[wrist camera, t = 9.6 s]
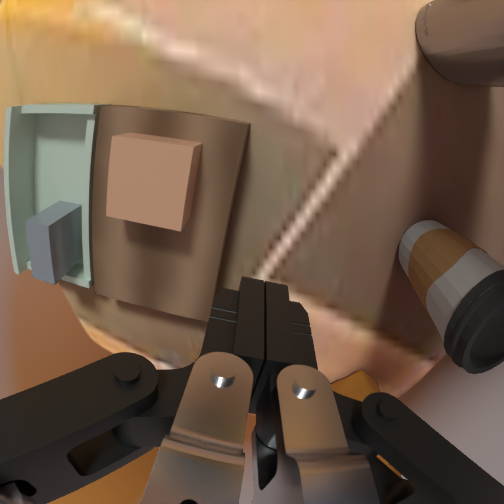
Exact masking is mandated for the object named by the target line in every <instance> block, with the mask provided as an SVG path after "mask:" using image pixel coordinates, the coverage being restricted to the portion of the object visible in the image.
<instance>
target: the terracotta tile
mask: <svg viewBox="0 0 504 504" xmlns="http://www.w3.org/2000/svg"><path fill="white" fill-rule="evenodd" d="M202 144H203V143H200V142H194V141H188V140H182V139H175V138H168V137H161V136H154V135H146V134H138V133H124V134H120V135H115V136H112V141H111V150H110V160H109V172H108V186H107V205H106V216H108V217H113V218H118V219H123V220H128V221H133V222H137V223H142V224H147V225H152V226H157V227H161V228H166V229H171V230H176V231H182V229H183V227H184V226H185V224H186V223H187V221H188V220H189V218H190V215H191V208H192V202H193V196H194V189H195V183H196V177H197V172H198V166H199V160H200V155H201V149H202Z"/></svg>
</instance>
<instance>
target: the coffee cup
mask: <svg viewBox="0 0 504 504" xmlns="http://www.w3.org/2000/svg"><path fill="white" fill-rule="evenodd" d="M399 262H400V264H401V266H402V268H403V270H404V271H405V273H406V275H407V276H408V278H409V280H410V282H411V284H412V286H413V288H414V290H415V291H416V293H417V295H418V297H419V298H420V300H421V302H422V304H423V306H424V307H425V309H426V311H427V313H428V315H429V316H430V317H431V318H432V320H433V322H434V324H435V326H436V328H437V330H438V332H439V334H440V335H441V337H442V339H443V341H444V348H445V350H446V353H447V354H448V355H449V356H450V357H451V358H452V360H453V362H454V363H455V364H456V365H458V366H459V367H463V368H464V369H465V370H466V371H467V372H468V373H472V374H477V373H483V372H485V371H488V370H490V369H492V368H494V367H495V366H497V365H498V364H500V363H501V362H503V361H504V266H503V265H502V264H501V263H499V262H498V261H496V260H495V259H494V258H492V257H491V256H489V255H488V254H487V252H485V251H484V250H483V249H481V248H480V247H478V246H477V245H475V244H474V243H472V242H471V241H469V240H468V239H466V238H465V237H463V236H461V235H460V234H458V233H457V232H455V231H453V230H450V229H449V228H447V227H445V226H444V225H442V224H441V223H439V222H437V221H433V220H425V221H420V222H418V223H415V224H414V225H413V226H411V227H410V228H409V229H408V230H407V231H406V232H405V234H404V235H403V237H402V239H401V242H400V245H399Z"/></svg>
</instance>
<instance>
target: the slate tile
mask: <svg viewBox="0 0 504 504" xmlns="http://www.w3.org/2000/svg"><path fill="white" fill-rule="evenodd" d="M25 223H26V233H27V242H28V249H29V257H30V263H31V269H32V275H33V278H36V279H39V280H42V281H45V282H48V283H51V284H54V285H55V284H56V283H57V282H58V281H59V280H60V279H61V278H62V277H63V276H64V275H65V274H66V273H67V272H68V271H69V270H70V269H71V268H72V267H73V266H74V265H75V264H76V263H77V262H79V261H80V260H81V259H82V258H83V246H82V205H81V204H76V203H71V202H65V201H58V202H57V203H55V204H53V205H51V206H50V207H48V208H46V209H44V210H43V211H41V212H39V213H38V214H36V215H34V216H33V217H31V218H29V219H28V220H26V221H25Z"/></svg>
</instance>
